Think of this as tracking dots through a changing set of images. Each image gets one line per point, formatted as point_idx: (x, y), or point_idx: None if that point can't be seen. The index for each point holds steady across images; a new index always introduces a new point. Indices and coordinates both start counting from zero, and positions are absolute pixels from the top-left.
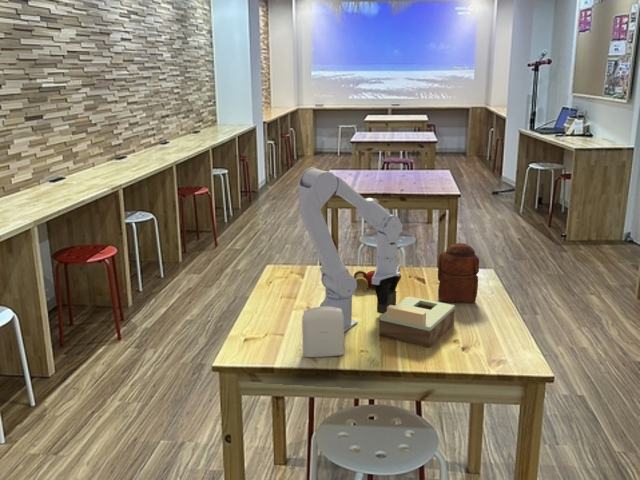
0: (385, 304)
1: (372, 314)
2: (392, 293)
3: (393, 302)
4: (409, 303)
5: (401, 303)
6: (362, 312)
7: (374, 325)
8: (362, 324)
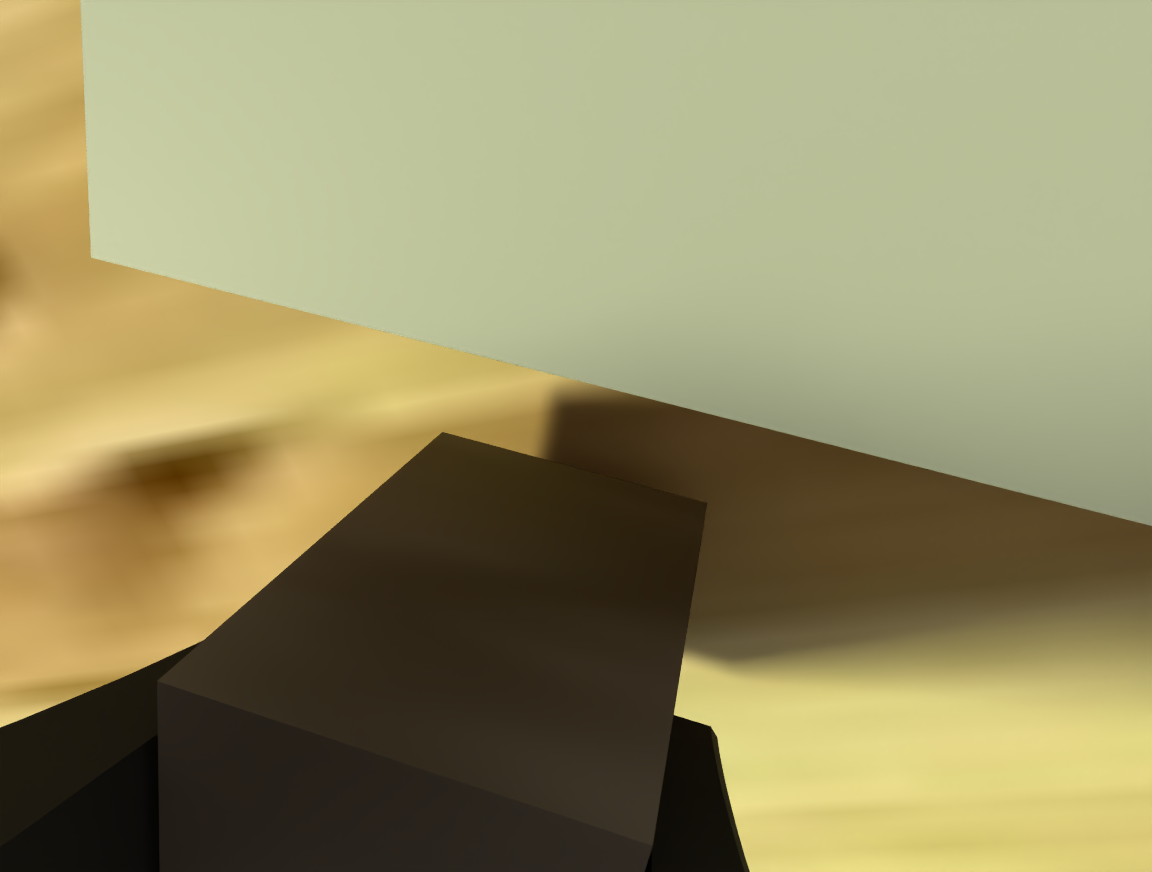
0: (686, 721)
1: None
2: (454, 783)
3: (482, 561)
4: (744, 10)
5: (831, 322)
6: None
7: (1071, 669)
8: (1060, 839)
